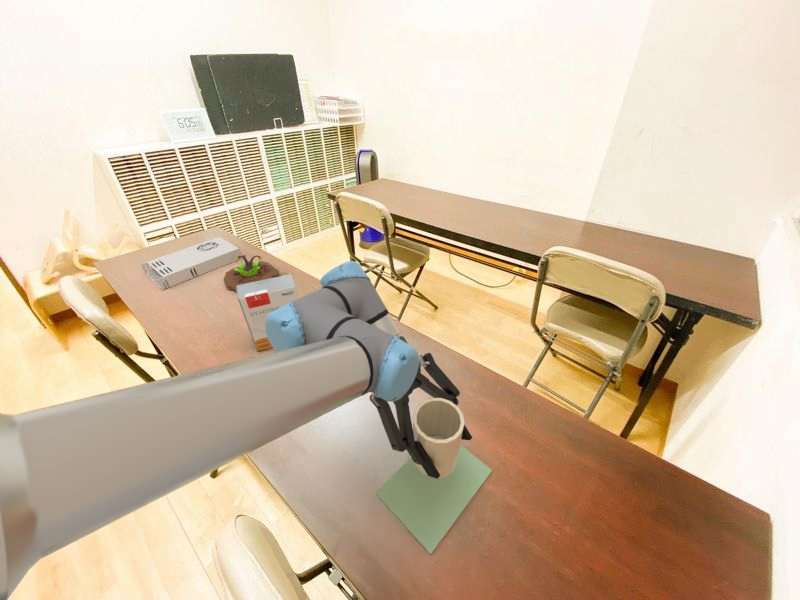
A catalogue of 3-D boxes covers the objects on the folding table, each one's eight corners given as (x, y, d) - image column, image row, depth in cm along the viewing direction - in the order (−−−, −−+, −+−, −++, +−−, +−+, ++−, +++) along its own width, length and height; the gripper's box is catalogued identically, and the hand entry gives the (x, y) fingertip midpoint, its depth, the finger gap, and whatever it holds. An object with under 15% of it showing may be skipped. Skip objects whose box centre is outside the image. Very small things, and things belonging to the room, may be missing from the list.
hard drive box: (256, 352, 97) (235, 299, 85) (255, 337, 102) (235, 284, 90) (308, 337, 102) (295, 285, 90) (304, 323, 107) (291, 272, 95)
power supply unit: (145, 274, 135) (140, 264, 132) (223, 246, 155) (219, 236, 152) (162, 290, 125) (156, 279, 122) (242, 258, 145) (239, 248, 142)
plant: (218, 278, 131) (208, 253, 125) (264, 261, 142) (257, 238, 135) (236, 299, 119) (226, 273, 113) (285, 279, 130) (278, 254, 123)
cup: (438, 488, 55) (442, 453, 49) (403, 455, 60) (402, 419, 53) (466, 454, 60) (474, 418, 53) (432, 426, 65) (435, 389, 58)
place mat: (430, 555, 56) (430, 554, 56) (376, 494, 64) (376, 493, 64) (492, 471, 67) (492, 470, 67) (439, 428, 75) (440, 427, 75)
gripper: (413, 321, 65) (471, 417, 65) (326, 382, 53) (397, 499, 53) (435, 312, 59) (498, 417, 59) (342, 378, 47) (422, 510, 47)
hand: (450, 456), depth 56 cm, fingers closed on cup, 8 cm apart
